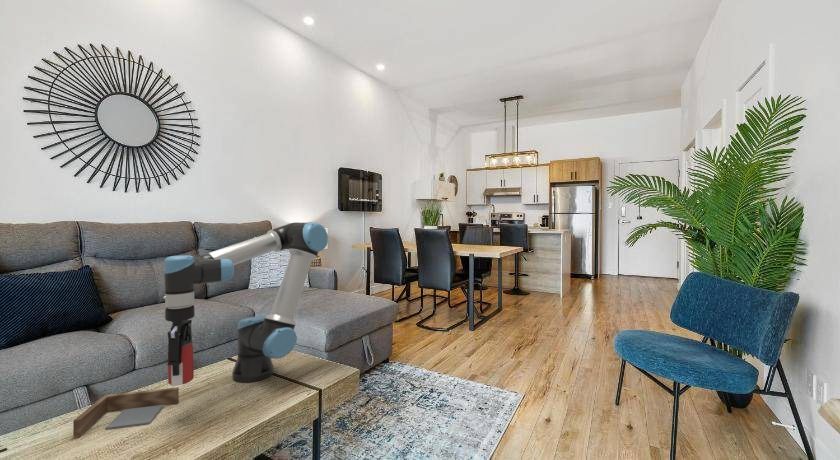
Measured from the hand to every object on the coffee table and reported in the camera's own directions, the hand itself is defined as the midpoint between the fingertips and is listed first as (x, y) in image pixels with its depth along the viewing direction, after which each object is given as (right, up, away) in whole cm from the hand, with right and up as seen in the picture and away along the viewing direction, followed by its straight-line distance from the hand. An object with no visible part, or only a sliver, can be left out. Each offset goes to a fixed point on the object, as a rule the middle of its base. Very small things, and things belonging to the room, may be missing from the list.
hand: (181, 379), depth 110 cm
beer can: (0, -1, 0) cm, 1 cm away
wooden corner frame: (-16, -12, 0) cm, 20 cm away
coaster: (-14, -12, 0) cm, 19 cm away
